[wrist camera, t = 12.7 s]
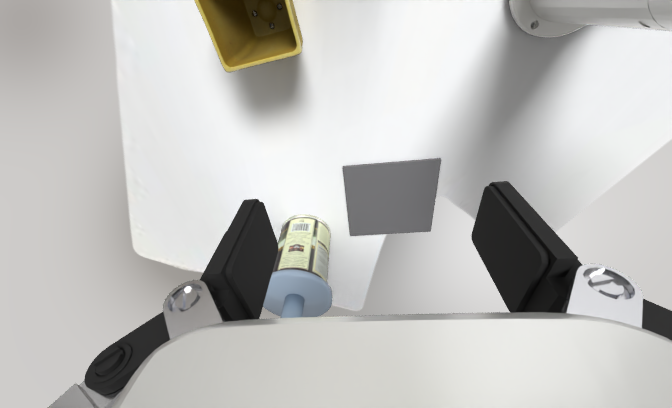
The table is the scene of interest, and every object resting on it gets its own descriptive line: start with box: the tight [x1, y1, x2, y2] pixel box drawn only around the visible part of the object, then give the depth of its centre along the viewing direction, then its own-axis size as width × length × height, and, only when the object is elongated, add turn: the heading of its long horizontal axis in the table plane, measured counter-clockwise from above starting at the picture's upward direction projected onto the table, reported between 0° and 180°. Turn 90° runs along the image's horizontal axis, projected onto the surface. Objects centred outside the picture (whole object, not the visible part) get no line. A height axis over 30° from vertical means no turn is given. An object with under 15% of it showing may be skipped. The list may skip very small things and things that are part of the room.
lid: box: [263, 270, 332, 318], centre depth 40 cm, size 12×12×6 cm
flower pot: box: [194, 0, 303, 72], centre depth 28 cm, size 9×9×9 cm
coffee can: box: [272, 215, 331, 282], centre depth 48 cm, size 10×10×14 cm
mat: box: [343, 158, 441, 236], centre depth 48 cm, size 16×16×1 cm
